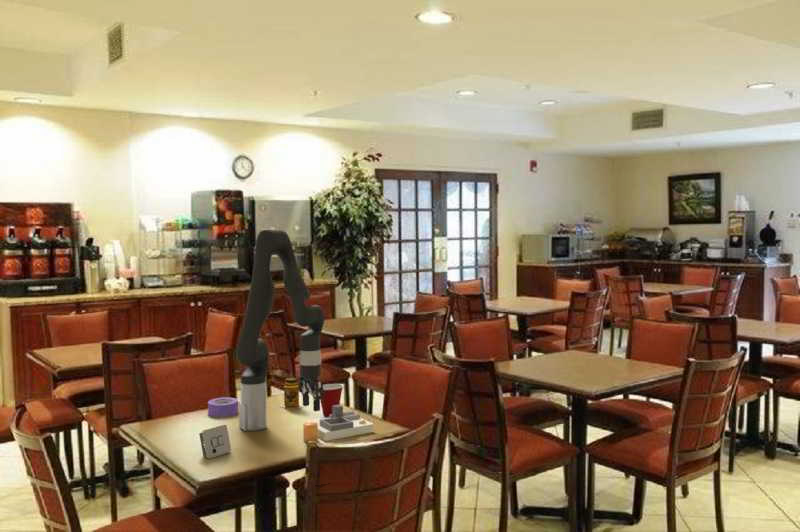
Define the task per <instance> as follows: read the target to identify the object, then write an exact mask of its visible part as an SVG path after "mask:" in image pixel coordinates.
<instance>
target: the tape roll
mask: <svg viewBox="0 0 800 532" xmlns="http://www.w3.org/2000/svg"><path fill="white" fill-rule="evenodd" d="M207 413H208V416H210V417H216V418H217V417H218V418H222V417H224V418H225V417H231V416H234V415H237V414H239V400H238V398H236V397H228V396H227V397H217V398H212V399H210V400H208V401H207Z"/></svg>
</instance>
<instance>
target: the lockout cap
mask: <svg viewBox="0 0 800 532" xmlns="http://www.w3.org/2000/svg"><path fill="white" fill-rule="evenodd" d="M306 422H307V421H306ZM302 429H303V434H302V435H303V438H302V440H303V443H305V442H306V444H308V443H307V442H309V441H317V442H318V441H319V437H318V423H315V422H307V423H305V422H304V423H303V427H302Z"/></svg>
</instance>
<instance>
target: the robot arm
mask: <svg viewBox="0 0 800 532" xmlns="http://www.w3.org/2000/svg"><path fill="white" fill-rule="evenodd" d="M294 251H295V250H294V249H293V245H292V242H291V238H290V236H289V234H288V233H287V232H286V231H285V230H282V229H273V228H263V229H261V230H260V231H259V232H258V234H257V236H256V241H255V249H254V259H253V260H254V262H253V270H252V277H251V283H250V288H249V291H248V298H247V301H246V302H247V304H246V309H245V315H244V319H243V324H242V325H243V326H242V328H241V332H240V335H239V338H238V341H237V342H238V343H237V346H236V349H235V351H236V352H235V355H236V359H237V362H238V363H239V364H240V365H241V366H244V367H245V366H246V367H245V368H246V369H244V371H243V372H242V374H241V375H240V401H238V415H239V417H238V419H239V420H238V421H239V422H238V425H239V428H240V429H242V430H243V431H245V432H246V431H253V432H254V431H259V430H263V429H265V428H267V376H268V372H269V360H270V359H269V358H270V357H269V354H270V353H269V346H268V345H267V342H266V341H265V340H264V339H262V338H260V333H261V330H262V328H263V326H264V324H265V323H266V321H267V319H268V317H269V316H270V314H271V312H272V309H273V305H274V299H275V295H276V287H275V283H274V281H273V277H272V274H271V268H270V267H271V261H272V257H273V256H272V255H274V256H275V255H277V256H278V257H279V259H280V261H281V263H282V265H283V266H282V267H283V278H282V280H283V286H284V288H285V291H286V293H287V294H288V297H289V299H290V302H291V308H292V309H291V310H292V313H293V318H294V321H295V323H296V324H297V325H298V326H300V327H302V328H304V327H308V328H307V330H306V331H305V332H303V333H302V334H300V336H299V379H298V385H299V394H300V393H301V396H302V407H308V406H309V405H310V396H312V399H313V403H312V405H313V406H312V407H313V408H312V409H313V411H314V412H320V411H321V401H320V400H321V399H323V385H324V383H323V381H319V377H321V376H322V352H321V336H322V333H323V328H324V323H325V313H324V310H323V307H321V306H320V305H317V304H313V305H306V302H307V301H309V299H310V298H311V294H310V290H309V288H308V287H307V284H306V283H305V281H304V278H303V277H302V273H301V271H300V269H299V266H298V262H297V258H296V255H295V252H294ZM320 393H321V396H320Z"/></svg>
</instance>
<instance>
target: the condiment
mask: <svg viewBox="0 0 800 532" xmlns="http://www.w3.org/2000/svg"><path fill="white" fill-rule="evenodd" d="M283 391H284V392H283V400H284V401H283V403H284V404H280V405H278V406H279V407H281V408H283V405H284V406H285V408H286V409H285V408H283V409H285V410H287V411H289V410H296V409H300V408H303V405H300V392H299V379H298V378H296V377H287V378H285V379H284V387H283Z"/></svg>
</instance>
